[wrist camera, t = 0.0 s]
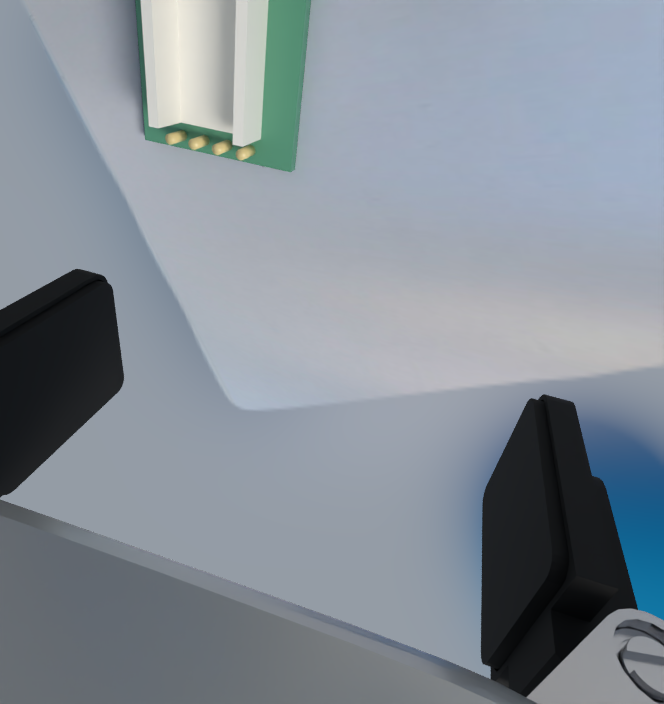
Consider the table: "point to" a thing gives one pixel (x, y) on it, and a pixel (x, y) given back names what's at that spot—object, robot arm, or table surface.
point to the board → (224, 76)
